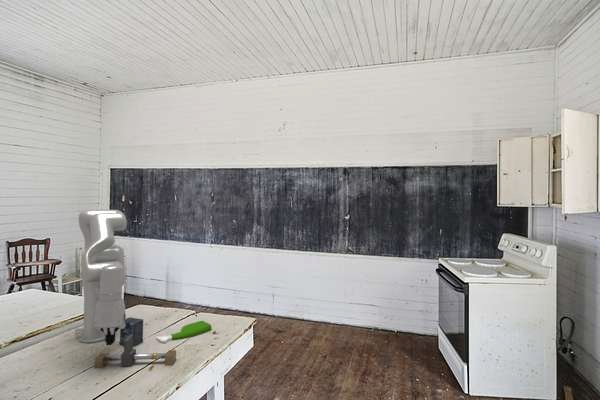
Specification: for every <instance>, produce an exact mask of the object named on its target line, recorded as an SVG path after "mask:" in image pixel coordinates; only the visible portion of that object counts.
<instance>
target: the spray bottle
mask: <svg viewBox="0 0 600 400" xmlns="http://www.w3.org/2000/svg"><path fill="white" fill-rule="evenodd" d="M211 330H212V325H211V323H209V322H207V321H204V320H199V321H196V322H192V323H189V324H185V325H184V326H182V327H181V330H180V331H178V332H176V333H172V334H170V335H168V334H166V335H162V336H156V338H155V339H157V341H159V342H160V343H163V344H167V342H170V341H173V340H175V341H176V340H180V339H187V338H191V337H192V338H193V337H196V336H199V335H202V334H205V333H207V332H209V331H211Z"/></svg>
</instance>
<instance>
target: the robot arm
mask: <svg viewBox="0 0 600 400" xmlns="http://www.w3.org/2000/svg"><path fill="white" fill-rule="evenodd" d="M127 223H128V222H127V218H126V215H125V213H123V212H122V211H120V210H119V209H86V210H83V211H81V212H80V213H79V215H78V225H79V228H80V232H81V233H82V235H83V239H84V252H83V255H82V257H81V274H82V277H81V280H82V281H81V283H82V290H83V327H82V328H80V327H79V328H75V329H74V335H80V336H79V337H78V339H79V342H82V343H85V344H86V343H87V344H88V343H89V344H90V343H96V342H97V343H98V342H101V341H105V344H106V346H112V345H113V344H114V343H115V342H116V333H117V331H120V329H123V328H125V326H126V325H125V321H126V319H127V317H126V316H127V314H126V313H127V311H126V306H125V300H124V298H123V286H124V285H125V283H126V268H125V267H126V265H125V254H124V250H123V248H122V247H121V246H119V245H115V242H116V240H115V235H114V232H116V231H117V232H118V231H124V230H126V228H127Z"/></svg>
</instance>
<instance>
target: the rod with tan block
mask: <svg viewBox="0 0 600 400" xmlns="http://www.w3.org/2000/svg"><path fill="white" fill-rule="evenodd" d="M93 359H94V360H93V364H94V365H93V368H94V369H103V368H104V367H105V366H106V365H107V364H108V363H109V362H114V361H116V362H117V361H121V354H109V352H100V353H99V354H98V355H97V356H96V357H95V358H93ZM162 359H164V366H173V365H174V363H175V361H176V360H177V350H176V349H173V350H172V349H169V350H168V351H167V352H161V353H160V352H154V353H136V354H133V355H132V360H135V361H138V360H142V361H143V360H162ZM154 367H155V365H151V366H150V367H149V368H148V369H147V371H149V372H151V371H152V370H153V368H154Z"/></svg>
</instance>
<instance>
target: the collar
mask: <svg viewBox="0 0 600 400" xmlns="http://www.w3.org/2000/svg"><path fill="white" fill-rule="evenodd" d="M133 354H137V349H136V348H134V347H133V334H131V335H129V336H128V337H127V338H126V340H125V341H124V345H123V351H122V353H121V354H120V355H121V360H120V367H124V366H125V367H126V366H133V364H134V363H135V361H136V360H132V355H133Z"/></svg>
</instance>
